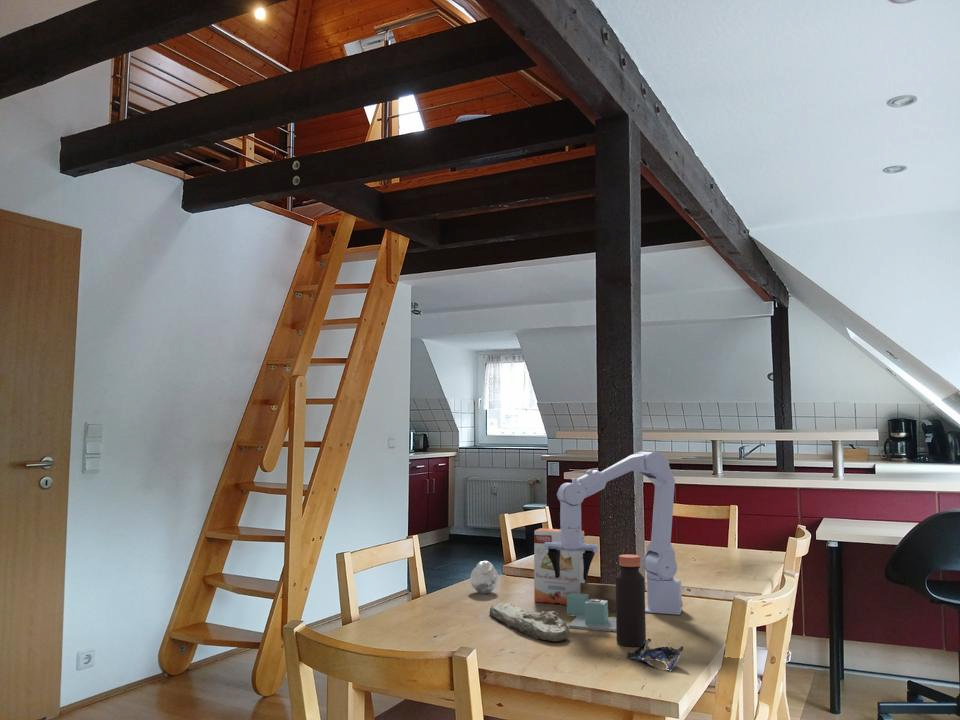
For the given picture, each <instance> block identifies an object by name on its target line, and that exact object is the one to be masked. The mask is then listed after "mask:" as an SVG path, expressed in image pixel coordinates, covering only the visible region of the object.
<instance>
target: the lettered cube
mask: <svg viewBox="0 0 960 720" xmlns="http://www.w3.org/2000/svg"><path fill="white" fill-rule="evenodd" d="M608 617H609V611H608V601H606V600H594V599H588V600H587V601H586V602H585V623H588V624H600V625H605V624H606V622H607V621H608Z"/></svg>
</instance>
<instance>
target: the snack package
mask: <svg viewBox="0 0 960 720" xmlns="http://www.w3.org/2000/svg"><path fill="white" fill-rule="evenodd" d="M650 642H652V639H651V638H647V639H646V641H644V643H642V645H641V646H638V649H635V650H634V651H633V652H630V651H627V654H626V658H628V659H629V658H630V659H632V660H634V659H635V660H634V661H638V660H639V661H638V662H644V663H647V664H648V665H650V666H652V667H654V666H655V665H654V664H651V663H652V662H651V661H650V662H649V661H648V660H651V659H658V660H660V661H665V662H666V664H667V666H668V668H667V669H669V670H668V671H667V672H671V671H670V670H672V671H673V669H674V667H676V665H677V663H678V662H679V659H680V657H681V655H682V652H683V650H684V646H681V647H679V648H677V649H676V648H674V647H671V646H661V647H655V648H650V649H646V648H647V646H648V644H650ZM660 643H661V644H662V642H660ZM667 645H670V642H669V643H667ZM642 658H644V660H642ZM646 660H647V661H646ZM653 665H654V666H653ZM654 668H655V667H654Z"/></svg>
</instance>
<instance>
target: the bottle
mask: <svg viewBox="0 0 960 720" xmlns="http://www.w3.org/2000/svg"><path fill="white" fill-rule="evenodd" d="M618 565H619V568H620V571H619V572H618V573H617V574H616V576H615V580H614V581H615V585H616V612H615V618H616V632H615V633H616V643H618V645H621V646H623V645H624V646H625V647H630V648H631V647H636V648H637V647H638V648H639V647H640V646H641V645H642V643H644V641H646V640H647V634H646V629H647V628H646V612H645V609H646V594H645V593H646V588H645V586H646V585H645V584H646V583H645V577H644V575H642V574H641V572H640V568H641V567H640V566H641V556H640V555H637V554H631V553H630V554H620V555H618Z"/></svg>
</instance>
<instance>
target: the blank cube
mask: <svg viewBox="0 0 960 720" xmlns="http://www.w3.org/2000/svg"><path fill="white" fill-rule="evenodd" d="M588 599H589V594H578V593H570V594H569V595H568V596H567V605H566V616H571V615H574V617H575V616H576V617H577V616H578V615H585V602H586V601H587V600H588Z"/></svg>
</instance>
